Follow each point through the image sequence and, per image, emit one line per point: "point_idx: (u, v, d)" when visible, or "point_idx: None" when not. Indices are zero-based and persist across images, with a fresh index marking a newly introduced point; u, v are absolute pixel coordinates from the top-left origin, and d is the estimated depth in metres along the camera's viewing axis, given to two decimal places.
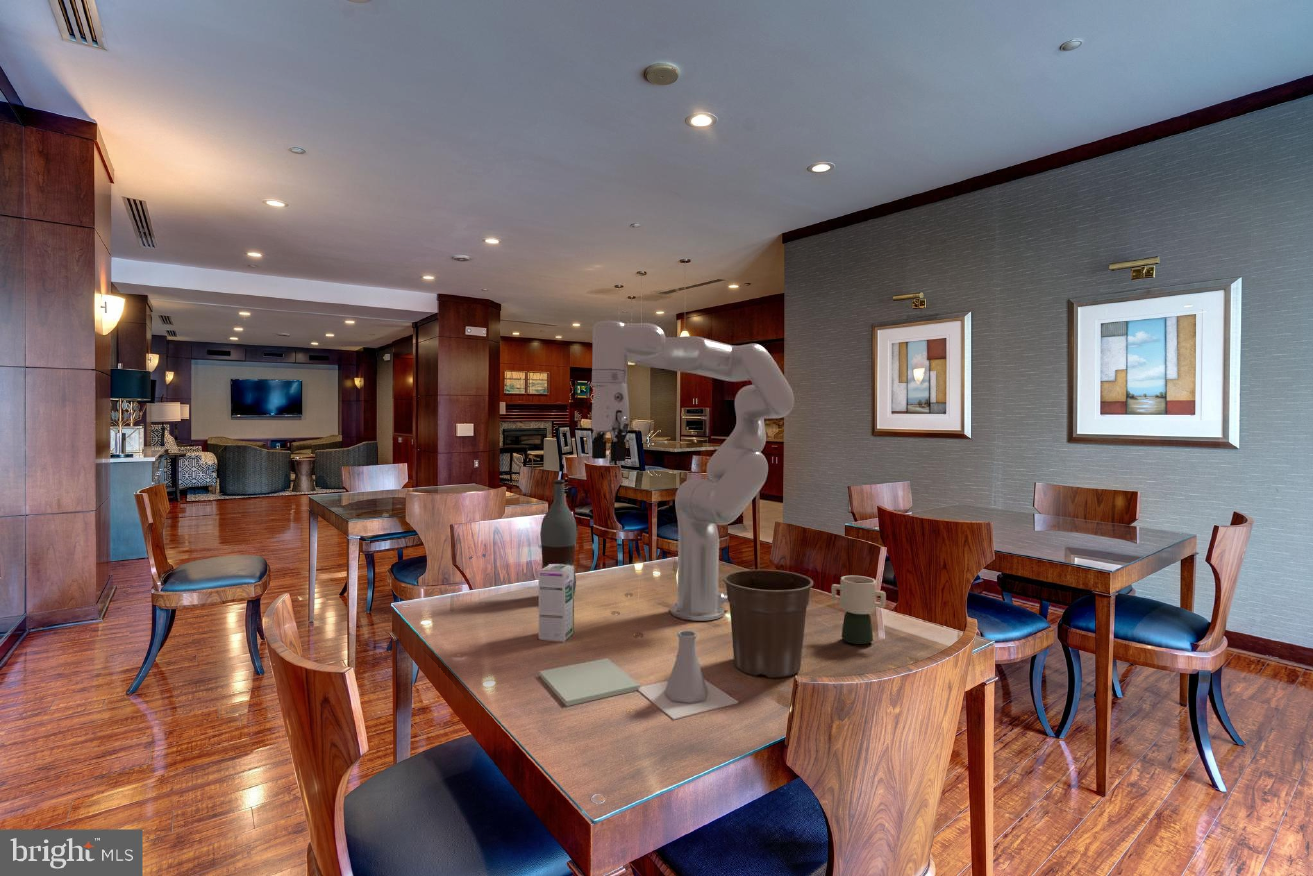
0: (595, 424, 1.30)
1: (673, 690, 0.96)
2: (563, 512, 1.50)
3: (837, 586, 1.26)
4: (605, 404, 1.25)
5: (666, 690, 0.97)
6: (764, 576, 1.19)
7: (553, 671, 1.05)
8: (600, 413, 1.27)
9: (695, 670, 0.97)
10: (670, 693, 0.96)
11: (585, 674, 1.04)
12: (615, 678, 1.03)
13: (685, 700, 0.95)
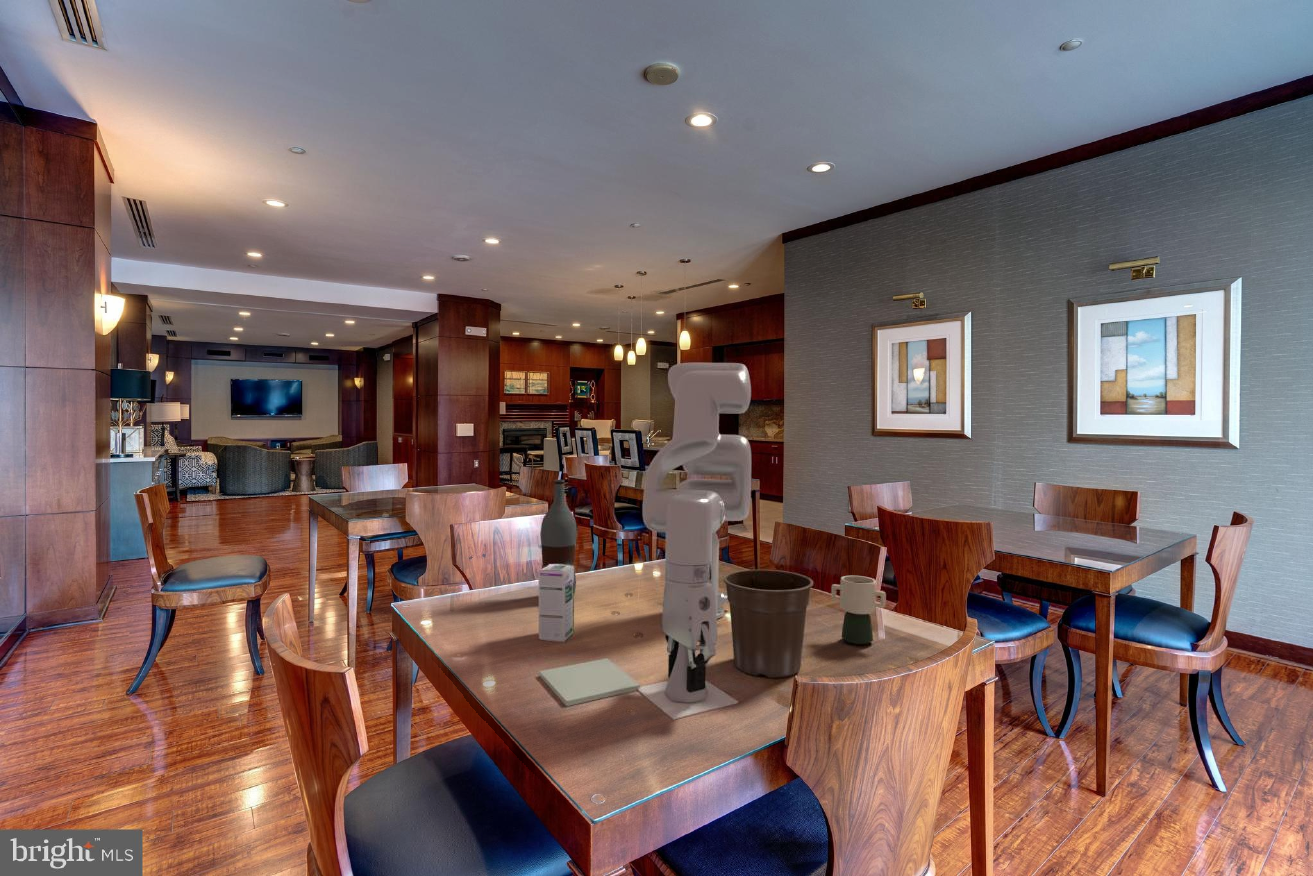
0: (668, 628, 0.99)
1: (673, 690, 0.96)
2: (563, 512, 1.50)
3: (837, 586, 1.26)
4: (686, 613, 0.94)
5: (666, 690, 0.97)
6: (764, 576, 1.19)
7: (553, 671, 1.05)
8: (678, 620, 0.96)
9: None
10: (670, 693, 0.96)
11: (585, 674, 1.04)
12: (615, 678, 1.03)
13: (685, 700, 0.95)
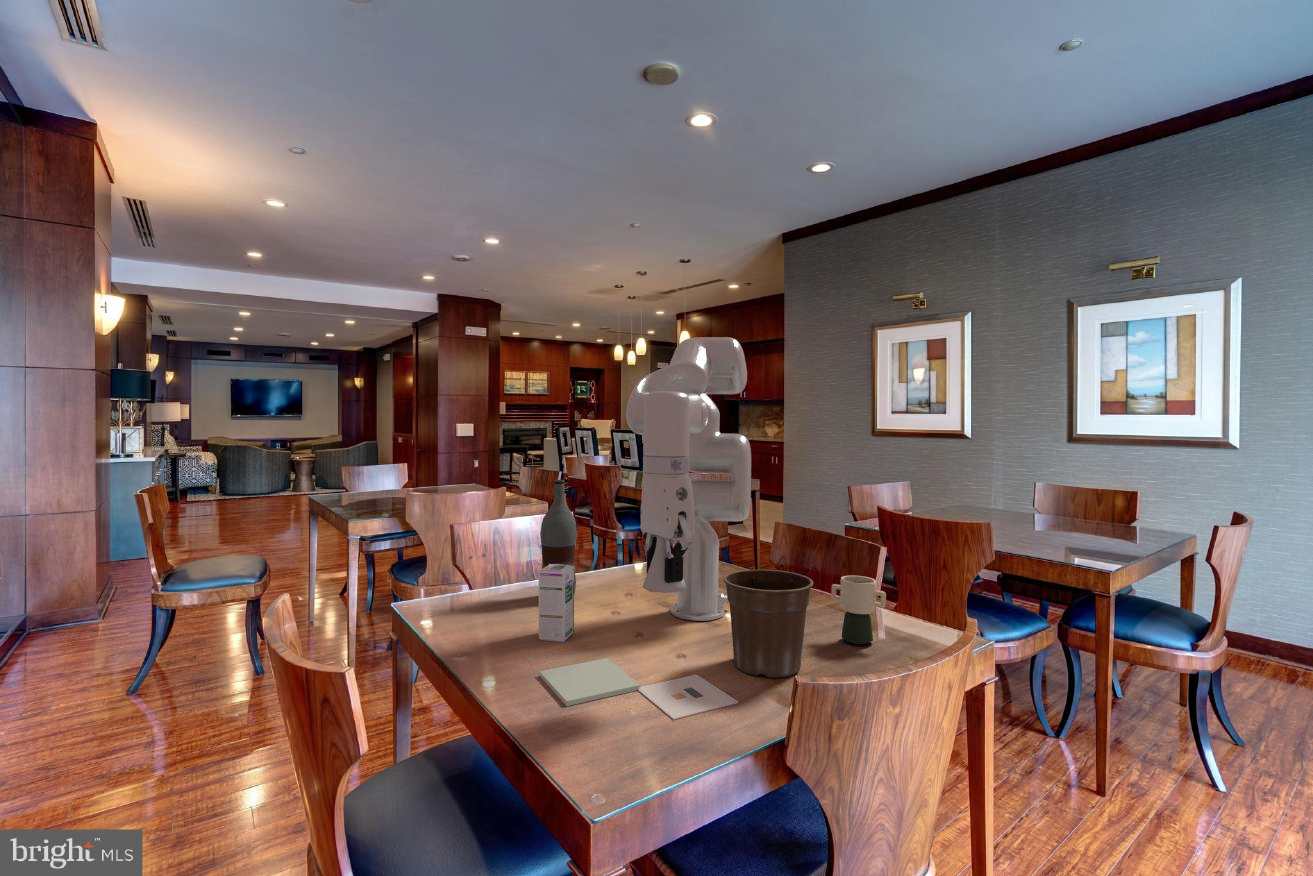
0: (646, 524, 1.00)
1: (651, 582, 0.97)
2: (563, 512, 1.50)
3: (837, 586, 1.27)
4: (664, 504, 0.95)
5: (644, 584, 0.98)
6: (764, 576, 1.19)
7: (553, 671, 1.05)
8: (655, 513, 0.97)
9: None
10: (648, 585, 0.97)
11: (585, 674, 1.04)
12: (615, 678, 1.03)
13: (663, 591, 0.96)
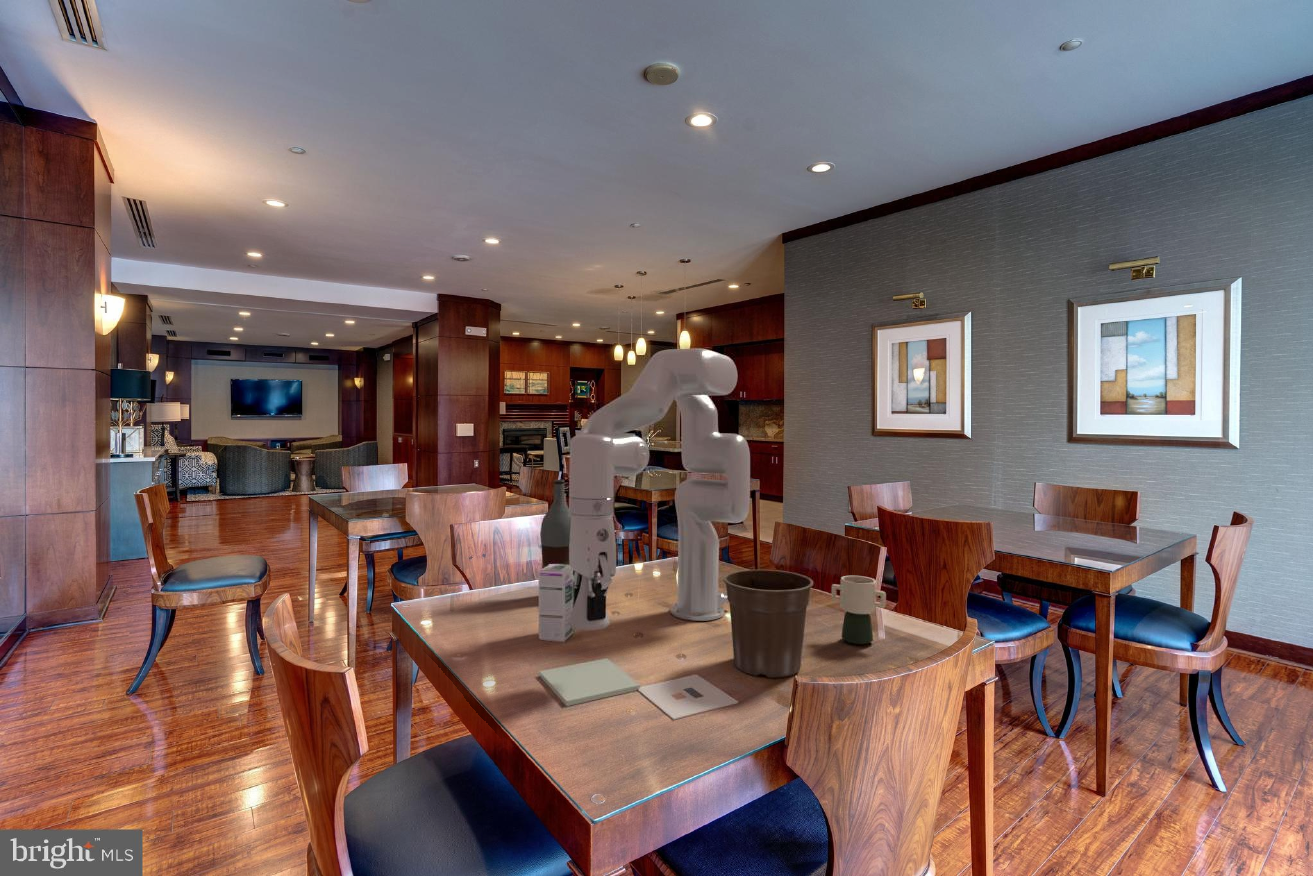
0: (573, 562, 1.03)
1: (574, 619, 1.00)
2: (563, 512, 1.50)
3: (837, 586, 1.26)
4: (585, 544, 0.98)
5: (569, 620, 1.02)
6: (764, 576, 1.19)
7: (553, 671, 1.05)
8: (579, 552, 1.00)
9: None
10: (572, 622, 1.00)
11: (585, 674, 1.04)
12: (615, 678, 1.03)
13: (585, 628, 0.99)
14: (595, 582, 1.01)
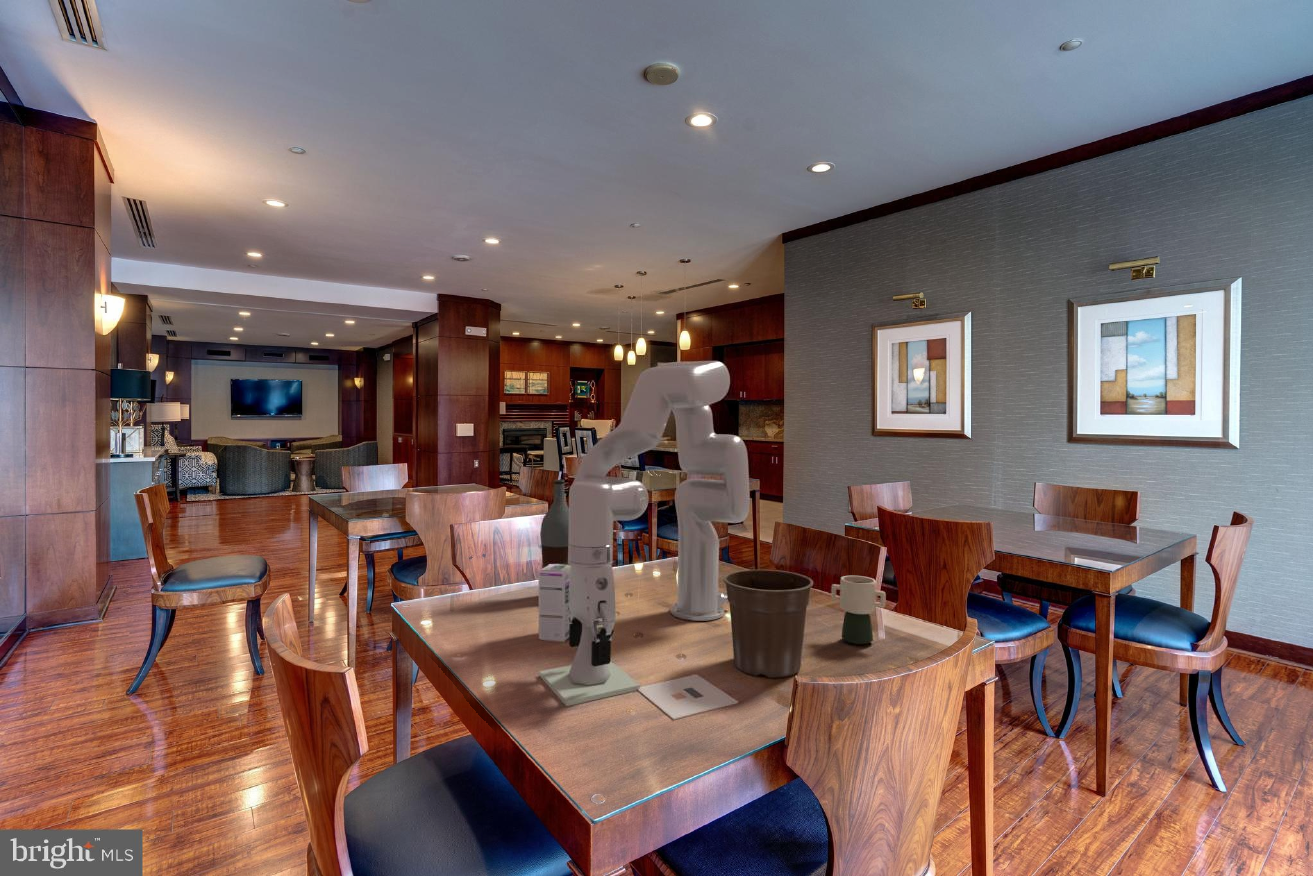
0: (572, 608, 1.03)
1: (574, 673, 1.00)
2: (563, 512, 1.50)
3: (837, 586, 1.26)
4: (585, 593, 0.98)
5: (569, 673, 1.02)
6: (764, 576, 1.19)
7: (553, 671, 1.05)
8: (578, 600, 1.00)
9: None
10: (572, 676, 1.01)
11: None
12: (615, 678, 1.03)
13: (585, 682, 0.99)
14: None
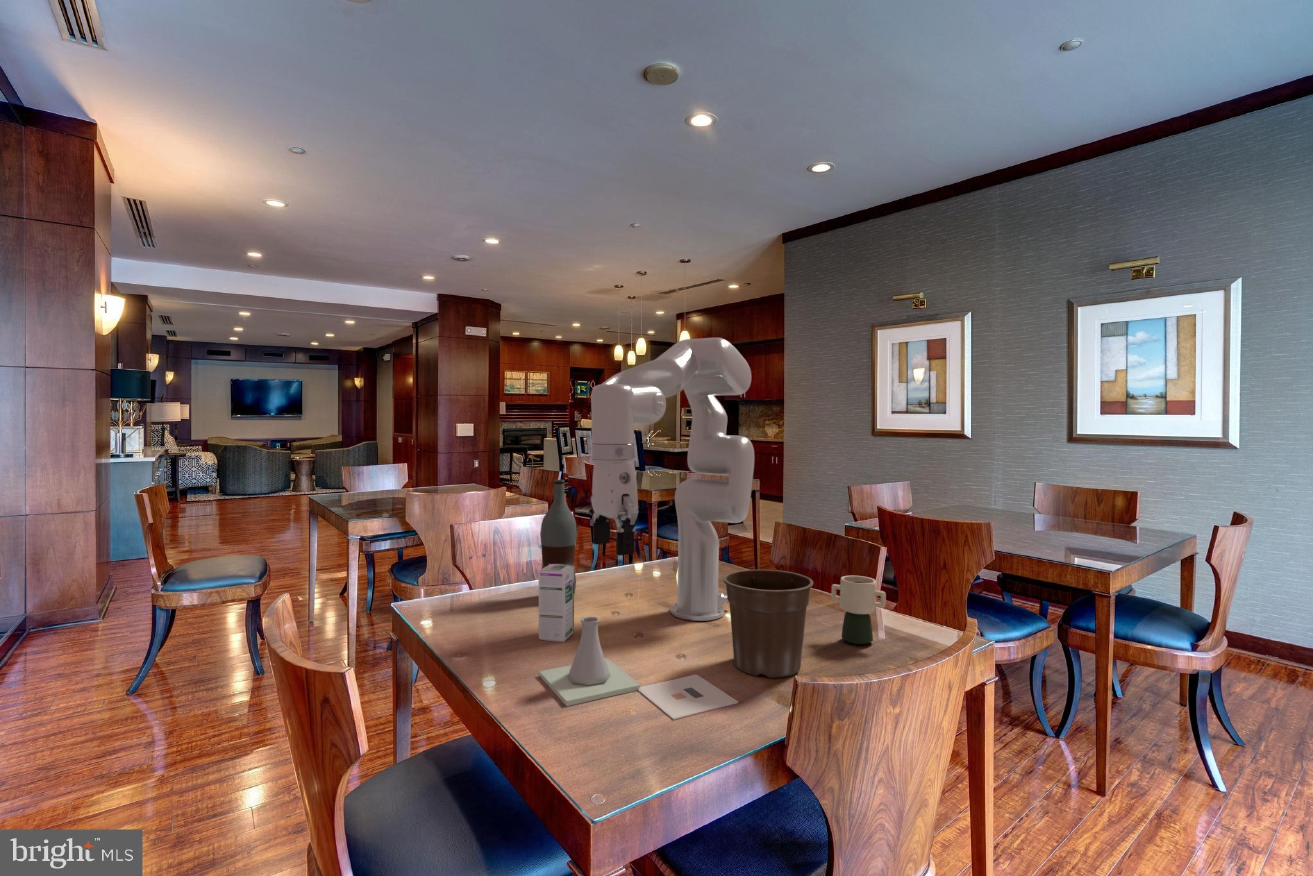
0: (596, 506, 1.09)
1: (574, 673, 1.00)
2: (563, 512, 1.50)
3: (837, 586, 1.26)
4: (609, 487, 1.04)
5: (569, 673, 1.02)
6: (764, 576, 1.19)
7: (553, 671, 1.05)
8: (602, 495, 1.06)
9: (597, 654, 1.01)
10: (572, 676, 1.01)
11: None
12: (615, 678, 1.03)
13: (585, 682, 0.99)
14: (595, 635, 1.02)
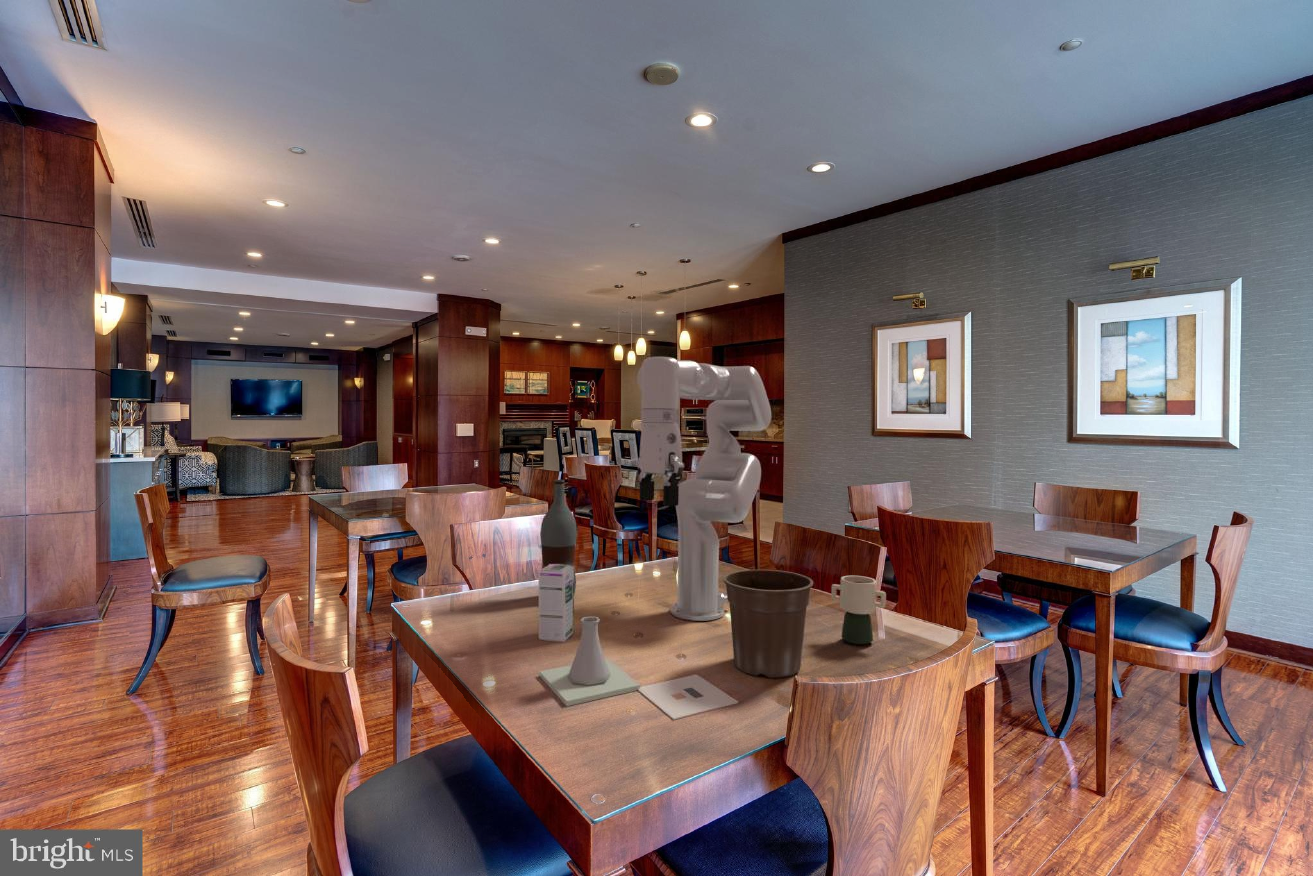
0: (644, 465, 1.23)
1: (574, 673, 1.00)
2: (563, 512, 1.50)
3: (837, 586, 1.26)
4: (657, 446, 1.18)
5: (569, 673, 1.02)
6: (764, 576, 1.19)
7: (553, 671, 1.05)
8: (651, 454, 1.20)
9: (597, 654, 1.01)
10: (572, 676, 1.01)
11: None
12: (615, 678, 1.03)
13: (585, 682, 0.99)
14: (595, 635, 1.02)
